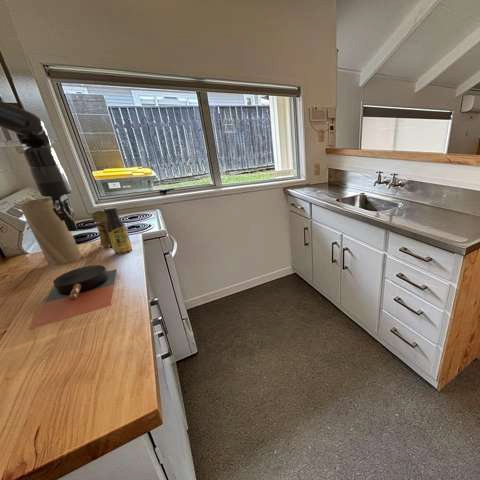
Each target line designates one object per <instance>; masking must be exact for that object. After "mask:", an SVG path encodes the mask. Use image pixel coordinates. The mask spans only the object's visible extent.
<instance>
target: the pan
mask: <svg viewBox="0 0 480 480" xmlns="http://www.w3.org/2000/svg"><path fill="white" fill-rule="evenodd" d="M108 279H109V276H108V273H107V268H106V267H105V266H104V265H101V264H95V265H87V266H81V267H79V268H75V269H71V270H69V271H67V272H64V273H63V274H60V275H58V276H57V277H56V278H55V279H54V280H53V281H52V283H53V287H54V286H55V288H56V290H57V291H58V293H59V294H61V295H69V300H72V301H73V300H76V299H77V297H78V294H79V293H82V292H86V291H89V290H92V289H94V288H96V287H98V286H100V285H102V284H103V283H105V282H106V281H107V280H108Z"/></svg>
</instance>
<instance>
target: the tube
mask: <svg viewBox="0 0 480 480" xmlns="http://www.w3.org/2000/svg"><path fill="white" fill-rule="evenodd" d="M51 202H52V198H51V197H43V198H35V199H30V200H26V201H25V200H24V201H22V202H18V206H19V208H20V210H21V212H22V214H23V216H24V218H25V220H26V223H27V224H28V226H29V229H30V230H31V232H32V234H33V236H34V239H35V240H36V242H37V244H38V246H39V249H40V250H41V251H42V254H43V256H44V258H45V260H46V262H47V264H48V266H49V267H52V266H60V265H66V264H68V263H72V262H76V261H80V260H81V259H82V258H83V256H82V254H81V251H80V249H79V246H78V245H77V241H76V240H75V237H74V235H73V233H72V231H68V228H67V226H66V224H65V222H64V221H61V220H60V219H59V217H58V216H57V215H56V214H55V212H54V211H53V208H54V207H53V206H52V204H51ZM81 257H82V258H81ZM80 258H81V259H80ZM79 259H80V260H79Z"/></svg>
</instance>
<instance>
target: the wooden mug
mask: <svg viewBox="0 0 480 480" xmlns="http://www.w3.org/2000/svg"><path fill="white" fill-rule="evenodd" d="M91 219H92V220H93V221H94V222H96V229H97V230H98V234H99V239H100V247H101V246H103V247H109V246H112V243H111V240H110V237H109V234H108V230H107V227H106V224H107V221H108V219H107V215H106V213H105V212H104V210H103V211H102V210H97V211H95V212H94V213H92V215H91ZM103 247H102V248H103Z"/></svg>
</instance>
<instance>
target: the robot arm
mask: <svg viewBox="0 0 480 480" xmlns="http://www.w3.org/2000/svg"><path fill="white" fill-rule="evenodd" d="M0 127H1V128H4V129H6V130H8V131H11V132H14V133H15V135H16V137H17V139H18V141H19V143H20V146H21V149H22V154H23V156H24V158H25V161H26V163H27V165H28V167H29V170H30V174H31V176H32V178H33V181H34V183H35V186H36V187H37V190H38V191H39V194H40V196H41V197H43V198H52V202H51V204H52V206H53V207H54V208H53V211H54V212H55V214H56V215H57V216H58V217H59V219H60V220H61V221H64V222H65V224H66V226H67V228H68V231H71V232H75V231H77V230H78V226H77V224H76V221H75V211H74V207H73V202H72V201H71V199H70V198H68V196H67V195H69V194H72V193H73V189H72V187H71V185H70V182H69V180H68V177H67V175H66V172H65V170H64V168H63V167H62V165H61V162H60V160H59V158H58V156H57V153H56V151H55V150H54V148H53V147H52V143H51V141H50V137H49V135H48V132H47V129H46V127H45V124H44V121H42V119H41V118H40V117H39V116H38V115H36V114H35V113H33V112H31V111H29V110H25V109H23V108H21V107H18V106H16V105H12V104H10V103H7V102H4V101H2V100H0Z"/></svg>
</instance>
